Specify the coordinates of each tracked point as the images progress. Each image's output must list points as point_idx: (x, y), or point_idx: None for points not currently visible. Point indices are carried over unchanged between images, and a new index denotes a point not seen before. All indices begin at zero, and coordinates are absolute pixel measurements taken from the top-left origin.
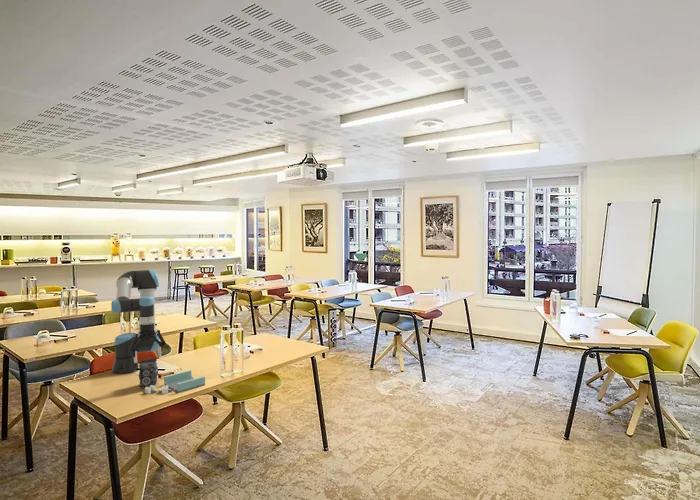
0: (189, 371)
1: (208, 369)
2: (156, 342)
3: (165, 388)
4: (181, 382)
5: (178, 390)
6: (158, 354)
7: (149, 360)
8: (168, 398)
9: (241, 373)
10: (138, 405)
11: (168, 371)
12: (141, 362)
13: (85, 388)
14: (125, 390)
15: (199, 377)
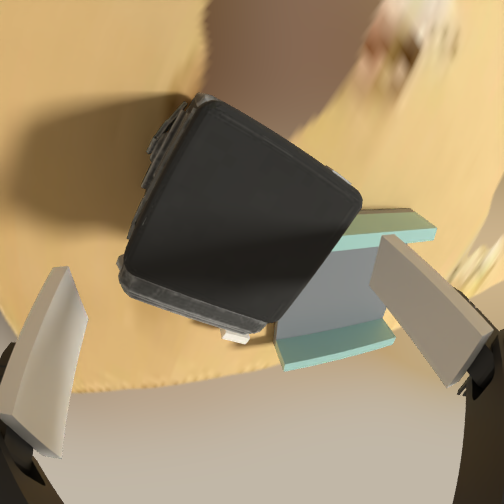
0: (424, 240)
1: (490, 164)
2: (497, 418)
3: (236, 341)
4: (304, 361)
5: (276, 349)
6: (398, 268)
7: (259, 251)
8: (220, 365)
9: (479, 282)
10: (112, 362)
11: (406, 14)
12: (144, 279)
13: None
14: (76, 149)
15: (379, 342)
